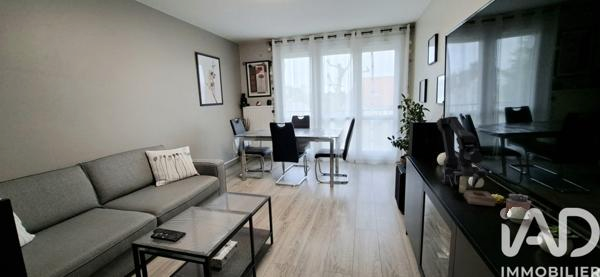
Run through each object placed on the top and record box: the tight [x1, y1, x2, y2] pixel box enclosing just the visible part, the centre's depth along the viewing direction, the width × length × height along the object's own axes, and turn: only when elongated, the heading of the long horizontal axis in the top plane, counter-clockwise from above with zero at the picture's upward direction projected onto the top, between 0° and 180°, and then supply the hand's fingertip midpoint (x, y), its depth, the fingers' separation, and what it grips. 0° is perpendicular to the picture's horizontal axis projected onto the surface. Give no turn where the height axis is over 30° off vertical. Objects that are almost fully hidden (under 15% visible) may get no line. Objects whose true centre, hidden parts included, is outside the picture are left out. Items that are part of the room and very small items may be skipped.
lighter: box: [504, 193, 532, 218], centre depth 104 cm, size 8×3×10 cm, turn 71°
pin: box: [458, 176, 468, 194], centre depth 132 cm, size 3×3×8 cm
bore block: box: [463, 189, 496, 207], centre depth 121 cm, size 9×10×4 cm
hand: (462, 187), depth 132 cm, fingers open, 9 cm apart
